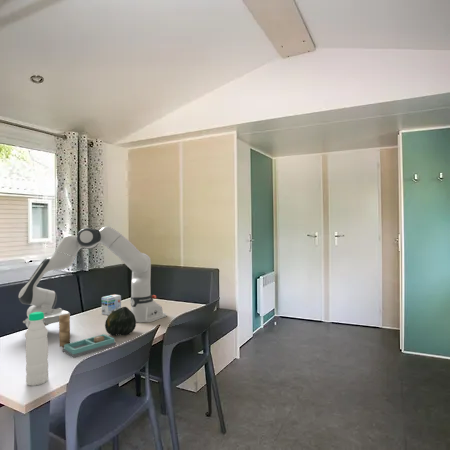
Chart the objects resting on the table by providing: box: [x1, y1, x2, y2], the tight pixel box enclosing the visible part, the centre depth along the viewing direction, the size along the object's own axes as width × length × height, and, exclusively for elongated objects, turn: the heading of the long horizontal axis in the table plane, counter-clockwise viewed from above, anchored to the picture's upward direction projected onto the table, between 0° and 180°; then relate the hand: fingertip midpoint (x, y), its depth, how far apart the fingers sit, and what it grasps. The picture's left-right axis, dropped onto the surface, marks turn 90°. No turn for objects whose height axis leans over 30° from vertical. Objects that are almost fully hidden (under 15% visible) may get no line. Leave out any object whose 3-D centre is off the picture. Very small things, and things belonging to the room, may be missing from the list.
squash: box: [104, 306, 137, 336], centre depth 173 cm, size 14×15×15 cm
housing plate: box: [62, 333, 117, 358], centre depth 154 cm, size 20×11×4 cm, turn 137°
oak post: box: [58, 314, 71, 348], centre depth 158 cm, size 4×4×14 cm
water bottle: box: [25, 312, 49, 387], centre depth 121 cm, size 7×7×25 cm
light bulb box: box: [101, 293, 122, 316], centre depth 215 cm, size 11×7×11 cm, turn 148°
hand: (54, 322), depth 166 cm, fingers open, 8 cm apart
